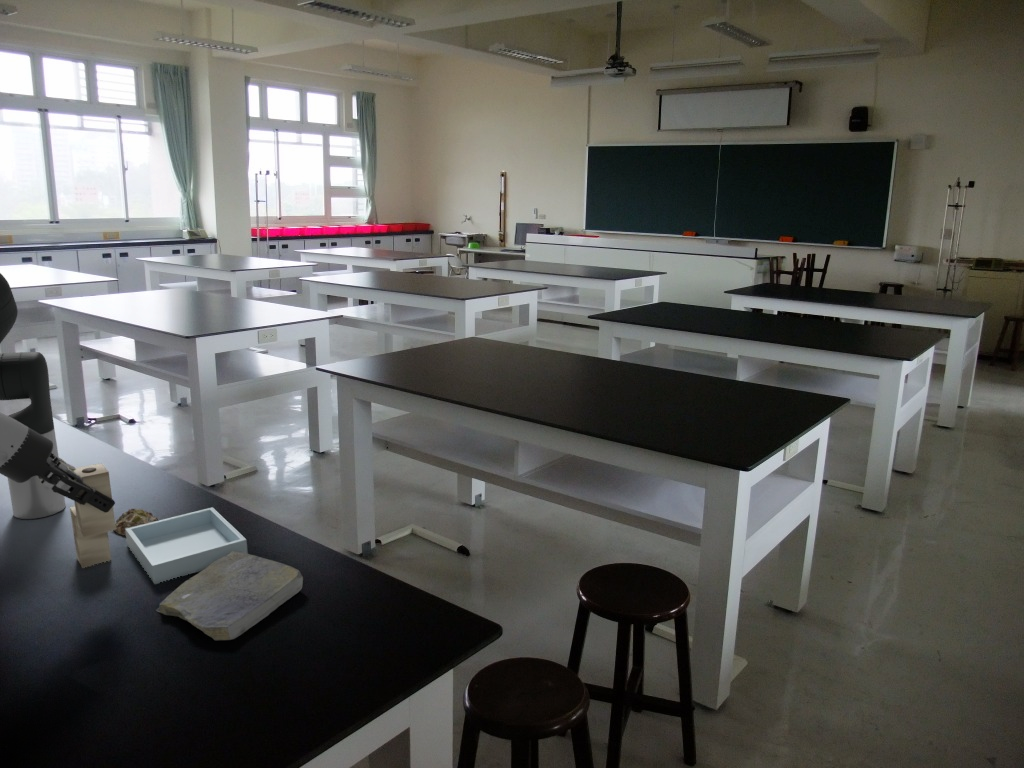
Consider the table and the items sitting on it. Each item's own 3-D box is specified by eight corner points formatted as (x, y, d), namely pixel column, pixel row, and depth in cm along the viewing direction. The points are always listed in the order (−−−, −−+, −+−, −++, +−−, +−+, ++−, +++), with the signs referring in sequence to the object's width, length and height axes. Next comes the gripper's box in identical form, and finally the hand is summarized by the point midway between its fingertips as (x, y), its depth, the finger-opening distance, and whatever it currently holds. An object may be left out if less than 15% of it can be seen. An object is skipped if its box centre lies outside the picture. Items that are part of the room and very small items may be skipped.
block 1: (78, 526, 122) (69, 468, 120) (109, 519, 125) (101, 462, 123) (83, 537, 119) (75, 477, 116) (115, 529, 122) (108, 471, 119)
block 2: (77, 558, 136) (66, 480, 133) (105, 551, 139) (95, 475, 135) (82, 568, 133) (71, 488, 129) (111, 560, 136) (101, 482, 132)
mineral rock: (104, 515, 149) (145, 495, 153) (113, 532, 151) (153, 513, 155) (116, 536, 141) (159, 515, 145) (126, 554, 143) (167, 533, 147)
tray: (127, 545, 141) (125, 528, 140) (214, 523, 151) (212, 507, 150) (154, 584, 128) (152, 565, 127) (247, 557, 138) (246, 539, 137)
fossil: (140, 627, 118) (223, 649, 111) (136, 600, 117) (219, 621, 110) (235, 573, 136) (312, 590, 128) (233, 549, 135) (310, 565, 128)
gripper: (33, 438, 107) (134, 497, 118) (18, 414, 118) (112, 469, 128) (-5, 482, 105) (101, 537, 116) (-17, 453, 116) (81, 506, 127)
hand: (106, 501), depth 122 cm, fingers closed on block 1, 4 cm apart
